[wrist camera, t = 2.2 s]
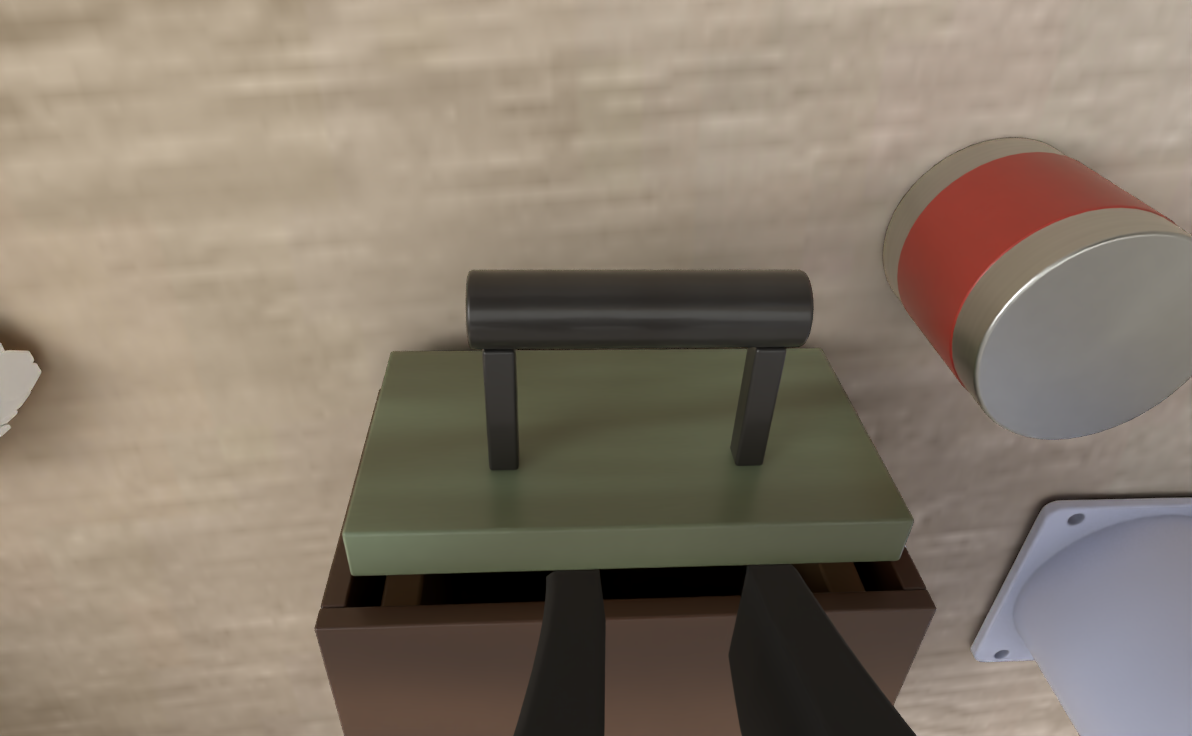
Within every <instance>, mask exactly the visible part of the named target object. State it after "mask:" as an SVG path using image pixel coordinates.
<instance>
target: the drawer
mask: <svg viewBox="0 0 1192 736" xmlns="http://www.w3.org/2000/svg"><path fill="white" fill-rule="evenodd" d="M813 310H814V303H813V293H812V287H811V283H810V280H809V278H808V276H807V274H806V273H805V272H803V271H801V270H471V271H469V273H468V276H467V283H466V326H467V337H468V343H469V345H470V348H472V349H482V351H393V352H391V354H390V357H389V361H388V365H387V368H386V372H385V376H384V380H383V383H382V387H381V391H380V395H379V398H378V402H377V406H376V409H375V413H374V417H373V421H372V424H371V428H370V432H369V435H368V439H367V443H366V447H365V450H364V454H363V458H362V462H361V465H360V469H359V473H358V476H357V480H356V484H355V488H354V491H353V495H352V499H351V503H350V506H349V510H348V514H347V517H346V521H345V525H344V529H343V532H342V536H343V541H344V545H345V550H346V554H347V559H348V563H349V568H350V572H351V575H353V576H379V575H386V580H385V585H384V590H383V595H382V600H381V605H380V606H409V605H441V604H474V603H506V602H538V601H545V598H546V577H547V576H548V575H550V574H551V573H552V572H554V571H565V570H599V572H600V579H601V587H602V594H603V599H635V598H667V597H699V596H732V595H741V594H742V590H743V585H744V580H745V576H746V571H747V567H748V565H778V564H791V565H792V566H793V567H795V568H796V569H797V571H798V572H799V574H800V575H801V577H802V578H803V580H804V581H805V583H806V584H807V586H808V587H809V589H810V590H811V592H812V593H828V592H861V591H865V589H864V586H863V584H862V582H861V579H860V577H859V575H858V572H857V570H856V568H855V565H854V563H853V562H875V561H897V560H899V559H900V557H901V555H902V552H903V549H904V547H905V544H906V542H907V539H908V536H909V534H910V531H911V529H912V526H913V523H914V519H913V517H912V515H911V513H910V511H909V509H908V507H907V505H906V504H905V502H904V500H903V498H902V496H901V494H900V493H899V491H898V489H897V487H896V485H895V483H894V481H893V480H892V478H891V476H890V474H889V472H888V470H887V468H886V467H885V465H884V463H883V461H882V459H881V457H880V456H879V454H878V452H877V450H876V448H875V446H874V444H873V443H872V441H871V439H870V437H869V435H868V433H867V432H866V430H865V428H864V426H863V424H862V422H861V420H860V419H859V417H858V415H857V413H856V411H855V409H854V407H853V406H852V404H851V402H850V400H849V398H848V396H847V395H846V393H845V391H844V389H843V387H842V385H841V383H840V382H839V380H838V378H837V376H836V374H835V372H834V371H833V369H832V367H831V365H830V363H829V361H828V359H827V358H826V356H825V354H824V352H823V350H822V349H820V348H786V347H799V346H801V345H803V344H804V343H805V342H806V341H807V339H808V337H809V334H810V331H811V327H812V321H813ZM715 347H748V349H635V350H516V349H582V348H715Z"/></svg>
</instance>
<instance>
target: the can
mask: <svg viewBox="0 0 1192 736" xmlns="http://www.w3.org/2000/svg"><path fill="white" fill-rule="evenodd" d="M883 265H884V271H885V275H886V279H887V281H888V283H889V285H890V287H891V289H892V290H893V292H894V293H895V295H896V296H897V298H898V299H899V300H900V301H901V303H902V304H903V306H904V308H905V310H906V311H907V312H908V314H909V315H910V317H911V318H912V320H913V321H914V322H915V323H916V325H917V326H918V327H919V329H920V330H921V331H922V333H923V334H924V335H925V337H926V338H927V339H928V341H929V342H930V343H931V345H932V346H933V347H934V349H935V350H936V351H937V353H938V354H939V355H940V357H941V358H942V359H943V361H944V362H945V363H946V365H947V366H948V367H949V369H950V370H951V371H952V373H953V374H954V375H955V377H956V378H957V379H958V381H959V382H960V383H961V385H962V386H963V387H964V388H965V389H966V390H967V391H968V392H969V393H970V394H971V395H972V397H973V398H974V399H975V401H976V402H977V403H978V405H979V406H980V407H981V409H982V410H983V411H984V413H985V414H986V415H987V416H988V417H989V418H990V419H991V420H992V421H993V422H995V423H996V424H998V425H999V426H1001V427H1002V428H1004V429H1006V430H1008V431H1011V432H1013V433H1015V434H1018V435H1022V436H1025V437H1029V438H1036V439H1048V440H1058V439H1070V438H1076V437H1082V436H1087V435H1091V434H1095V433H1099V432H1102V431H1104V430H1107V429H1110V428H1113V427H1116V426H1118V425H1120V424H1123V423H1125V422H1127V421H1129V420H1131V419H1133V418H1135V417H1137V416H1139V415H1141V414H1143V413H1145V412H1146V411H1148V410H1149V409H1151V408H1153V407H1154V406H1156V405H1157V404H1159V403H1160V402H1162V401H1163V400H1164V399H1166V398H1167V397H1168V396H1170V395H1171V394H1172V393H1174V392H1175V391H1176V390H1177V389H1178V388H1179V387H1181V386H1182V385H1183V384H1184V383H1185V382H1186V381H1187V380H1188V379H1189V378H1190V377H1191V376H1192V235H1190V234H1189V233H1187V232H1186V231H1184V230H1183V229H1181V228H1179V227H1178V226H1177V225H1176V224H1175V223H1174V222H1173V221H1172V220H1170V219H1169V218H1167V217H1165V216H1164V215H1162V214H1161V213H1159V212H1158V211H1156V210H1154V209H1153V208H1151V207H1150V206H1148V205H1147V204H1145V203H1143V202H1142V201H1140V200H1139V199H1137V198H1135V197H1134V196H1132V195H1131V194H1129V193H1128V192H1126V191H1124V190H1123V189H1121V188H1120V187H1118V186H1117V185H1115V184H1113V183H1112V182H1110V181H1109V180H1107V179H1105V178H1104V177H1102V176H1101V175H1099V174H1098V173H1096V172H1094V171H1093V170H1091V169H1090V168H1088V167H1086V166H1085V165H1083V164H1082V163H1080V162H1079V161H1077V160H1074V159H1072V158H1070V157H1068V156H1066V155H1065V154H1063V153H1061V152H1060V151H1058V150H1057V149H1055V148H1054V147H1052V146H1050V145H1048V144H1045V143H1043V142H1040V141H1036V140H1032V139H1026V138H1000V139H995V140H989V141H985V142H981V143H978V144H975V145H972V146H969V147H967V148H965V149H962V150H960V151H958V152H956V153H954V154H952V155H951V156H949V157H947V158H945V159H944V160H942V161H941V162H939V163H938V164H937V165H935V166H934V167H932V168H931V169H930V170H929V171H928V172H927V173H925V174H924V175H923V176H922V177H921V178H920V179H919V180H918V181H917V182H916V183H915V184H914V185H913V186H912V187H911V189H910V190H909V191H908V192H907V194H906V195H905V196H904V197H903V199H902V200H901V202H900V204H899V205H898V207H897V208H896V210H895V212H894V214H893V216H892V218H891V221H890V223H889V226H888V229H887V232H886V236H885V241H884V247H883Z"/></svg>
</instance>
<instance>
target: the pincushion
mask: <svg viewBox="0 0 1192 736" xmlns="http://www.w3.org/2000/svg"><path fill="white" fill-rule="evenodd" d="M33 361H34V358H33V357H32V355H31V353H30V352H29V351H24V350H6V351H5V350H4V348H3V346H2V344H1V343H0V437H1V436H2V435H3V434H5V433H6V432H7V431H8V430H9V429H10V428H11V427H10V425H9V424H7V423H8V422H9V421H10V420H11V419H12V418H13V417H14V416H15V415H16V414H17V413H18V412H17V409H18V408H20V407H21V406H22V405H23V403H24V402H25V401H26V399H27V398H28V396H29V395H30V394H31V391H30V390H31V389H32V388H33V387H34V385H35V383H36V381H37V379H38V378H39V376H40V374H41V372H42V371H41V370H40V368H39V367H38V365H37V363H33Z"/></svg>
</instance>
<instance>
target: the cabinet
mask: <svg viewBox="0 0 1192 736" xmlns="http://www.w3.org/2000/svg"><path fill="white" fill-rule="evenodd" d="M380 391H381V389H380V390H379V393H378V396H377V401H376V404H375V407H374V411H373V415H372V419H371V422H370V426H369V430H368V433H367V437H366V441H365V444H364V448H363V452H362V455H361V459H360V463H359V467H358V470H357V474H356V478H355V481H354V485H353V489H352V492H351V496H350V500H349V503H348V507H347V511H346V515H345V518H344V522H343V526H342V529H341V533H340V537H339V540H338V544H337V548H336V551H335V555H334V559H333V563H332V566H331V570H330V574H329V577H328V581H327V585H326V588H325V592H324V596H323V599H322V603H321V609H320V611H319V614H318V618H317V621H316V625H315V632H316V636H317V640H318V643H319V647H320V650H321V654H322V657H323V661H324V665H325V668H326V672H327V675H328V679H329V683H330V686H331V690H332V693H333V697H334V700H335V704H336V708H337V711H338V715H339V718H340V722H341V726H342V729H343V733H344V736H513V735H514V732H515V729H516V725H517V722H518V719H519V715H520V712H521V708H522V704H523V701H524V697H525V694H526V690H527V686H528V683H529V679H530V676H531V672H532V668H533V664H534V660H535V655H536V651H537V646H538V642H539V637H540V632H541V626H542V621H543V614H544V606H545V601H538V602H506V603H474V604H441V605H409V606H380V605H381V600H382V595H383V590H384V585H385V580H386V575H379V576H353V575H351V572H350V568H349V563H348V559H347V554H346V550H345V545H344V541H343V536H342V532H343V529H344V525H345V521H346V517H347V514H348V510H349V506H350V503H351V499H352V495H353V491H354V488H355V484H356V480H357V476H358V473H359V469H360V465H361V462H362V458H363V454H364V450H365V447H366V443H367V439H368V435H369V432H370V428H371V424H372V421H373V417H374V413H375V409H376V406H377V402H378V398H379V395H380ZM853 563H854V565H855V568H856V570H857V572H858V575H859V577H860V579H861V582H862V584H863V586H864V589H865V591H861V592H828V593H813V595H814V597H815V598H816V600H817V601H818V603H819V604H820V605H821V607H822V608H823V610H824V611H825V613H826V614H827V616H828V617H829V619H830V620H831V622H832V623H833V625H834V626H835V627H836V629H837V630H838V632H839V633H840V635H841V636H842V637H843V639H844V640H845V642H846V643H847V644H848V646H849V647H850V649H851V650H852V651H853V653H854V654H855V656H856V657H857V658H858V660H859V661H860V663H861V664H862V665H863V667H864V668H865V669H866V671H867V672H868V673H869V675H870V676H871V677H872V679H873V680H874V681H875V683H876V684H877V685H878V687H879V688H880V689H881V691H882V692H883V693H884V694H885V696H886V697H887V698H888V700H889V701H890V702H891V704H892V705H894V703H895V701H896V698H897V696H898V694H899V692H900V689H901V687H902V685H903V683H904V680H905V678H906V676H907V674H908V672H909V669H910V667H911V665H912V663H913V660H914V658H915V656H916V654H917V651H918V649H919V647H920V645H921V642H922V640H923V638H924V636H925V634H926V631H927V629H928V627H929V625H930V622H931V620H932V618H933V616H934V613H935V611H936V606H935V604H934V602H933V600H932V598H931V596H930V594H929V593H928V591H927V590H926V586H925V584H924V582H923V580H922V578H921V577H920V575H919V573H918V571H917V569H916V567H915V565H914V563H913V561H912V559H911V557H910V555H909V553H908V551H907V549H906V547H904V549H903V552H902V555H901V557H900V559H899V560H897V561H875V562H853ZM740 599H741V595H732V596H699V597H667V598H635V599H603V602H604V611H605V619H606V637H605V734H604V736H742V734H741V731H740V726H739V720H738V714H737V708H736V702H735V696H734V690H733V683H732V677H731V670H730V664H729V657H728V654H729V649H730V645H731V640H732V635H733V631H734V626H735V622H736V617H737V612H738V608H739V603H740Z"/></svg>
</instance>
